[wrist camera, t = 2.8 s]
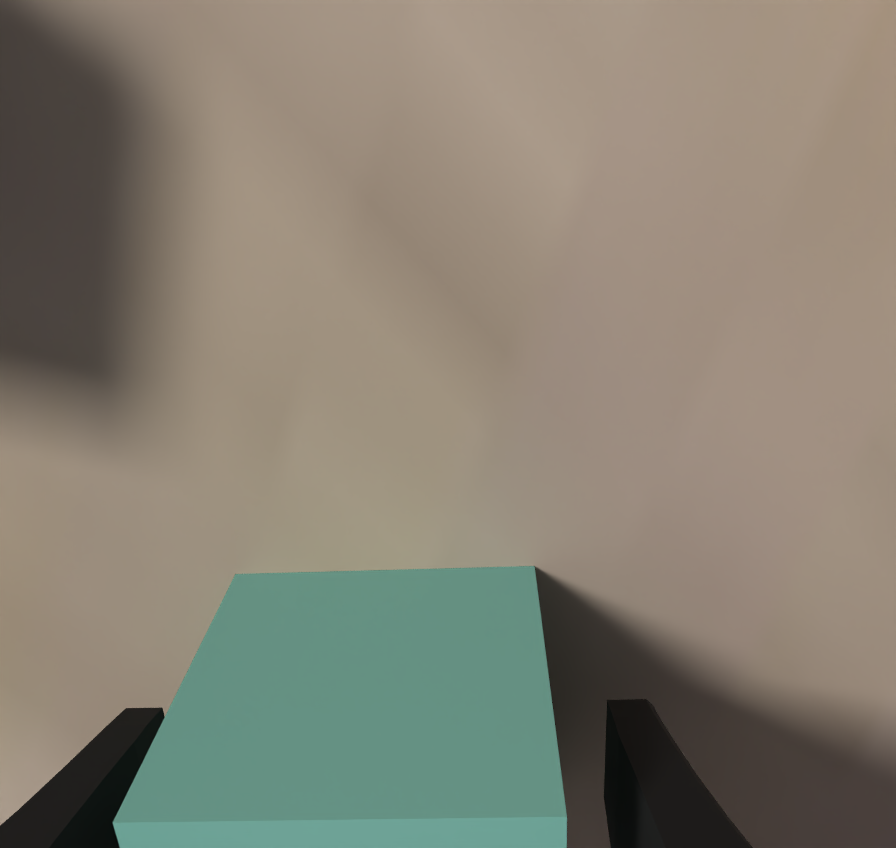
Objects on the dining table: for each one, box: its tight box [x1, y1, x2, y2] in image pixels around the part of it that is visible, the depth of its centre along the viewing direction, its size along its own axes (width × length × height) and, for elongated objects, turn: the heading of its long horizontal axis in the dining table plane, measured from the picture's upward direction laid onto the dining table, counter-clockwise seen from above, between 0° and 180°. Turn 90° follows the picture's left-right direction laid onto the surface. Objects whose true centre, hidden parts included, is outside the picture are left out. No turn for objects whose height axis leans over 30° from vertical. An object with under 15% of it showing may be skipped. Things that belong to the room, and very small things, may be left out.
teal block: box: [113, 566, 567, 848], centre depth 12 cm, size 5×5×5 cm
